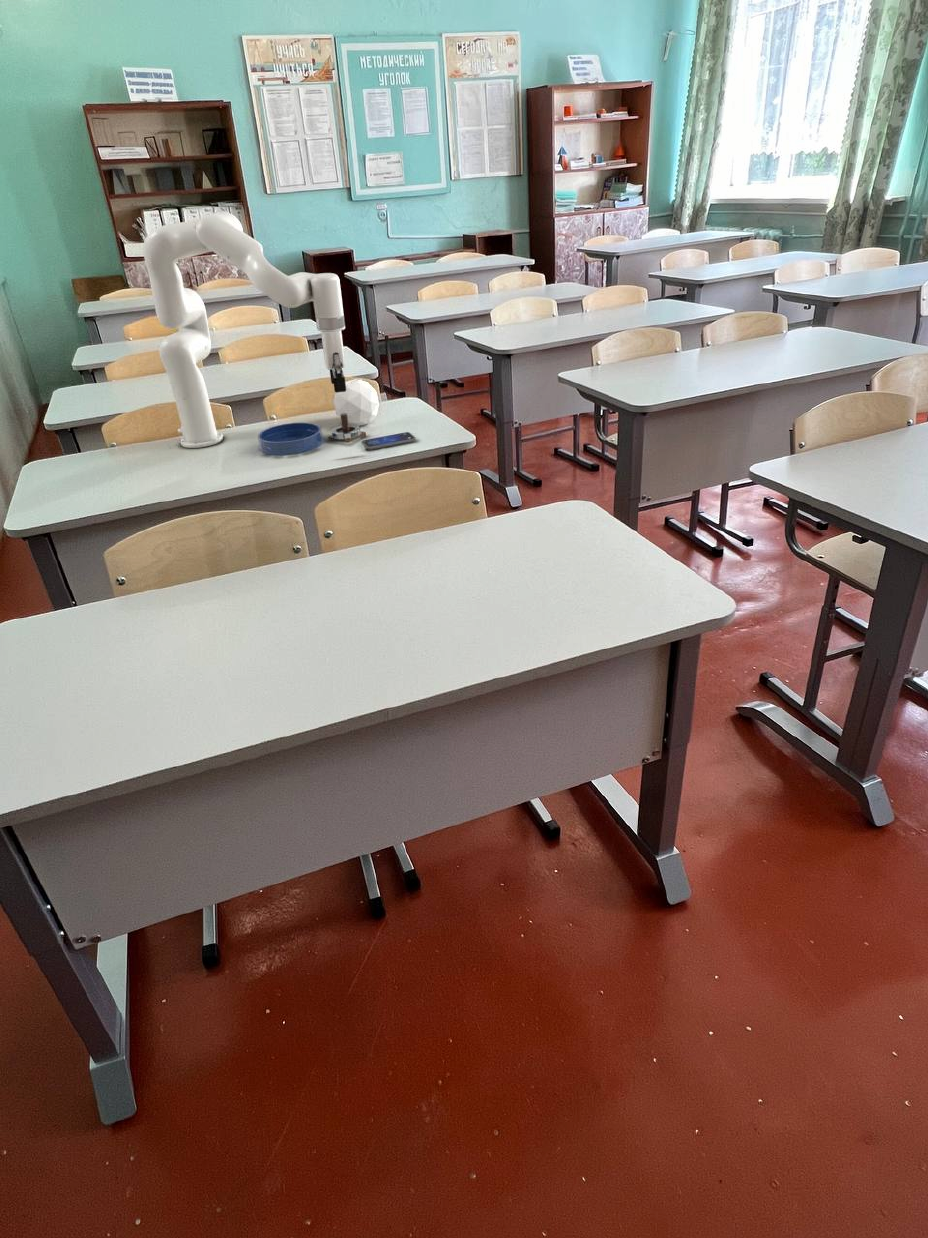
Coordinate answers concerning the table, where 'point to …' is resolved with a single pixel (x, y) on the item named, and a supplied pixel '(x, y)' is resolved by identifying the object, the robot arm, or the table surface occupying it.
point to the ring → (348, 435)
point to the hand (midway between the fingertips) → (338, 387)
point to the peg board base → (347, 430)
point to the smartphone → (388, 440)
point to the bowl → (290, 438)
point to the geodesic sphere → (357, 402)
